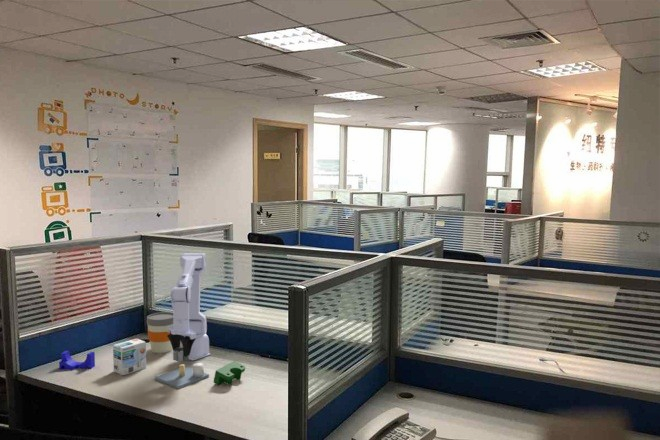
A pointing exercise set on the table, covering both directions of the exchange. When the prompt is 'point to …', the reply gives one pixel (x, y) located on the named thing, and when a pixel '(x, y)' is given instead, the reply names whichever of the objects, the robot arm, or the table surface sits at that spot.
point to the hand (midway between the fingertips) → (181, 353)
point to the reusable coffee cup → (159, 331)
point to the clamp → (229, 373)
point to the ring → (179, 354)
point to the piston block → (183, 376)
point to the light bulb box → (129, 356)
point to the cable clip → (72, 364)
